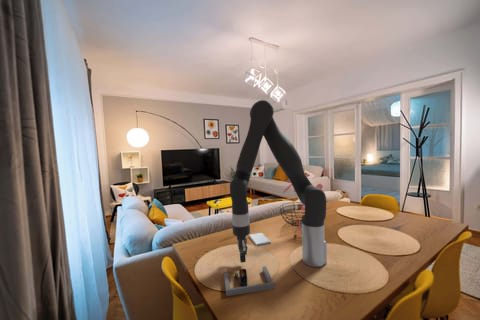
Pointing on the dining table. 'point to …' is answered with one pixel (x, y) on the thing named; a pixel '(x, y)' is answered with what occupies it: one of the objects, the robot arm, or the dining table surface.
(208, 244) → the dining table surface
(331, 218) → the dining table surface
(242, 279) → the wireless earbuds
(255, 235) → the hard drive
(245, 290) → the slot rails
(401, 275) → the dining table surface
